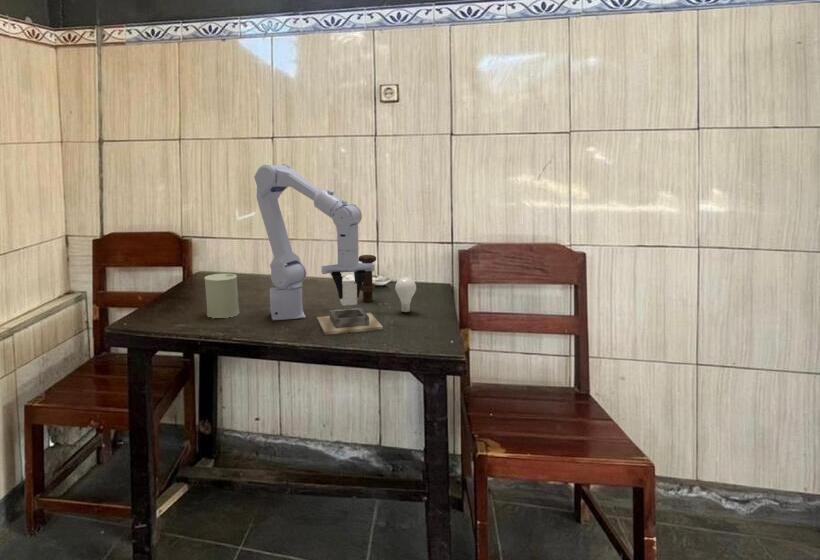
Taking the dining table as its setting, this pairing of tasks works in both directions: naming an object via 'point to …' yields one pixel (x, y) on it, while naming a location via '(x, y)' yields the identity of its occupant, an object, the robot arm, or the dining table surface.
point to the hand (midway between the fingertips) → (348, 297)
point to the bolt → (367, 278)
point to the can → (221, 295)
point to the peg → (349, 293)
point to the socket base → (348, 321)
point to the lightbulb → (405, 292)
